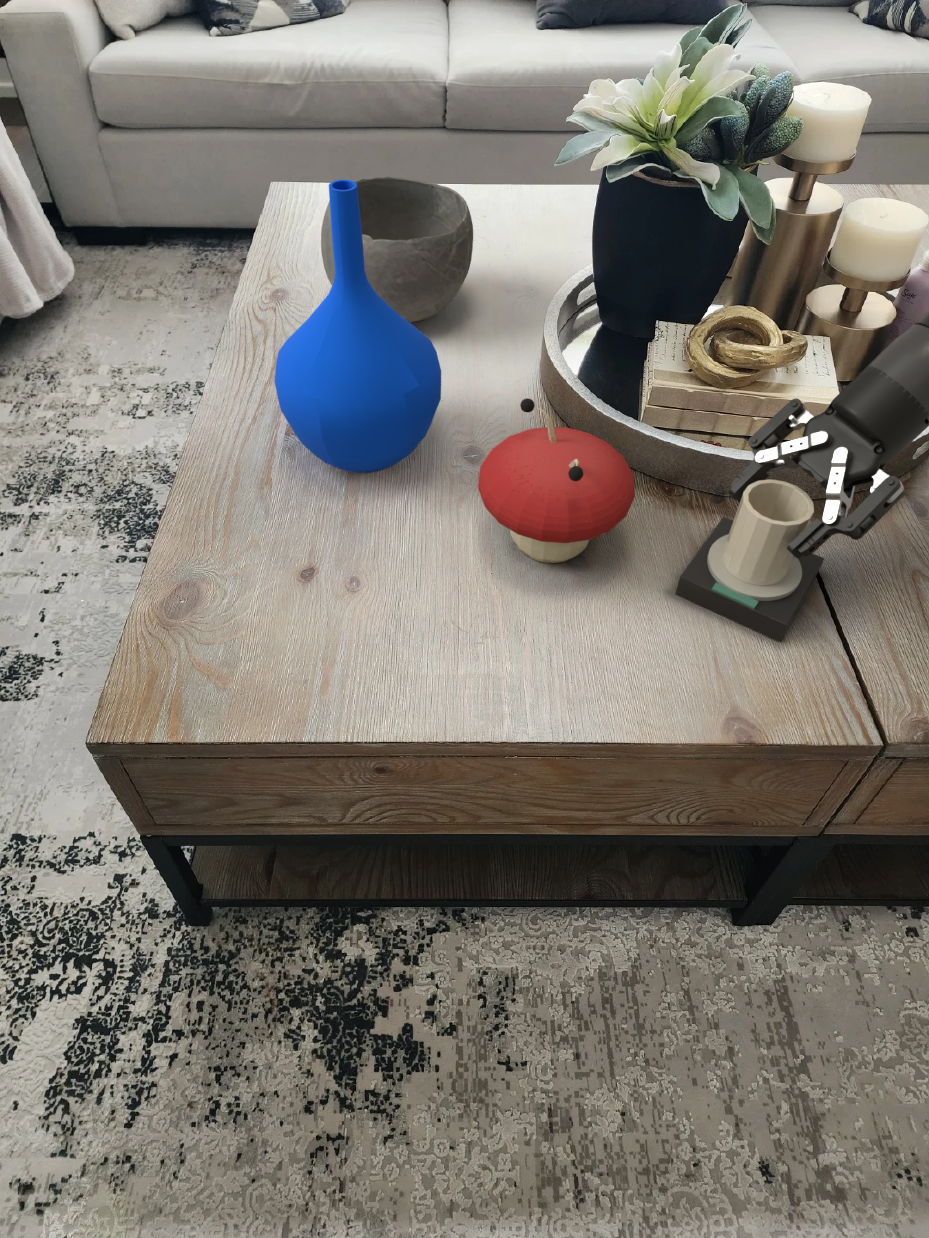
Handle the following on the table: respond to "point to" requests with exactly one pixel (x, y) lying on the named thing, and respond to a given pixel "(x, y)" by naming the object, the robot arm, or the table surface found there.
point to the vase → (357, 364)
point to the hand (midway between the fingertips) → (762, 525)
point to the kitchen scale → (746, 588)
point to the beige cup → (766, 531)
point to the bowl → (410, 243)
